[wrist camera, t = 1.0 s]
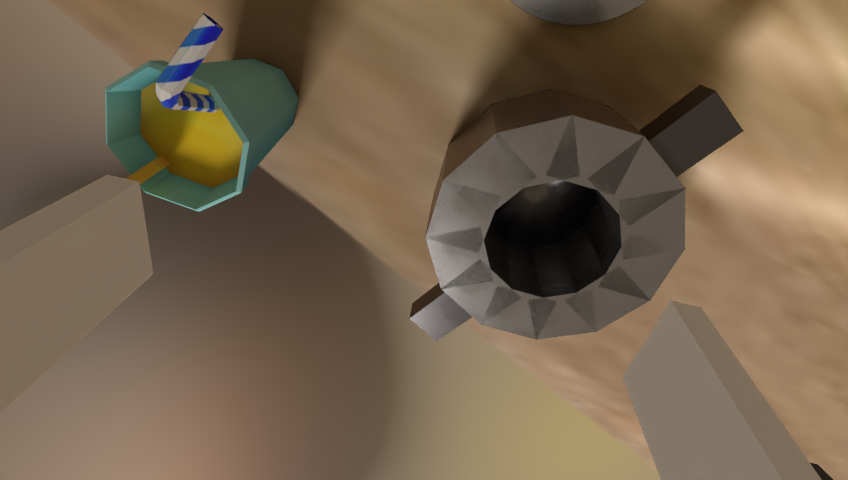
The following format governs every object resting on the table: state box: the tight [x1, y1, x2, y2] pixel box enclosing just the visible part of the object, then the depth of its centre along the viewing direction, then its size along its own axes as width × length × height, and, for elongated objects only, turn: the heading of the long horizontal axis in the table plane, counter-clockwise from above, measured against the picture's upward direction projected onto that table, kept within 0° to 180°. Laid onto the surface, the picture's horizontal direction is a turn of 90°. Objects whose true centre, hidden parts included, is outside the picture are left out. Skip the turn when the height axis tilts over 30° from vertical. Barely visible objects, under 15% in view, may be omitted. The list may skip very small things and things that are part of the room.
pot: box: [410, 85, 743, 341], centre depth 30 cm, size 23×15×7 cm, turn 135°
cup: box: [105, 13, 298, 212], centre depth 24 cm, size 14×8×15 cm, turn 137°
